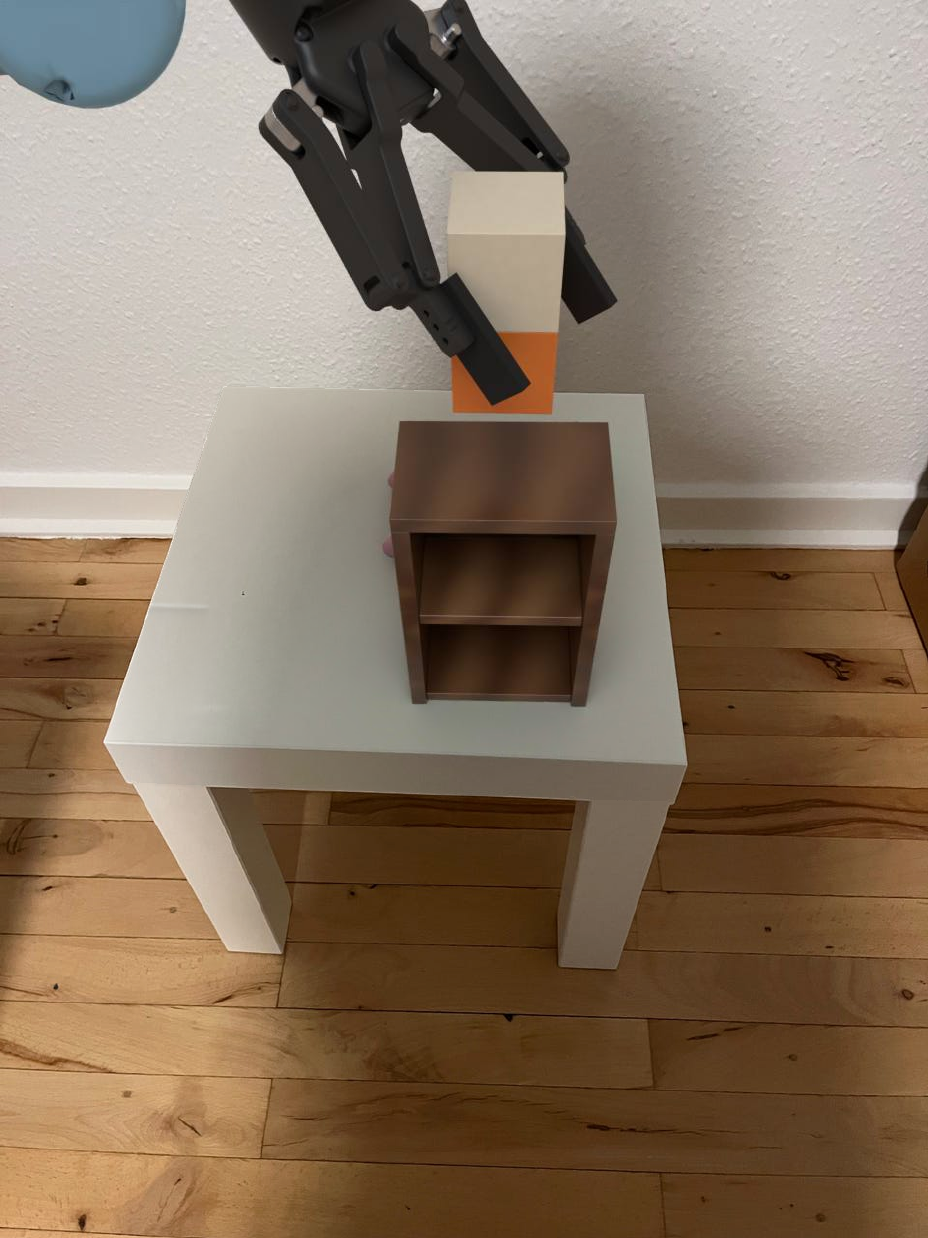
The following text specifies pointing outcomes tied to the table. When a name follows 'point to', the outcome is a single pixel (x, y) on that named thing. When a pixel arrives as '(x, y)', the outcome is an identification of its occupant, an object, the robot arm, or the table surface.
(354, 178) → the robot arm
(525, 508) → the shelf
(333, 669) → the table surface
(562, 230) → the cream and orange block
